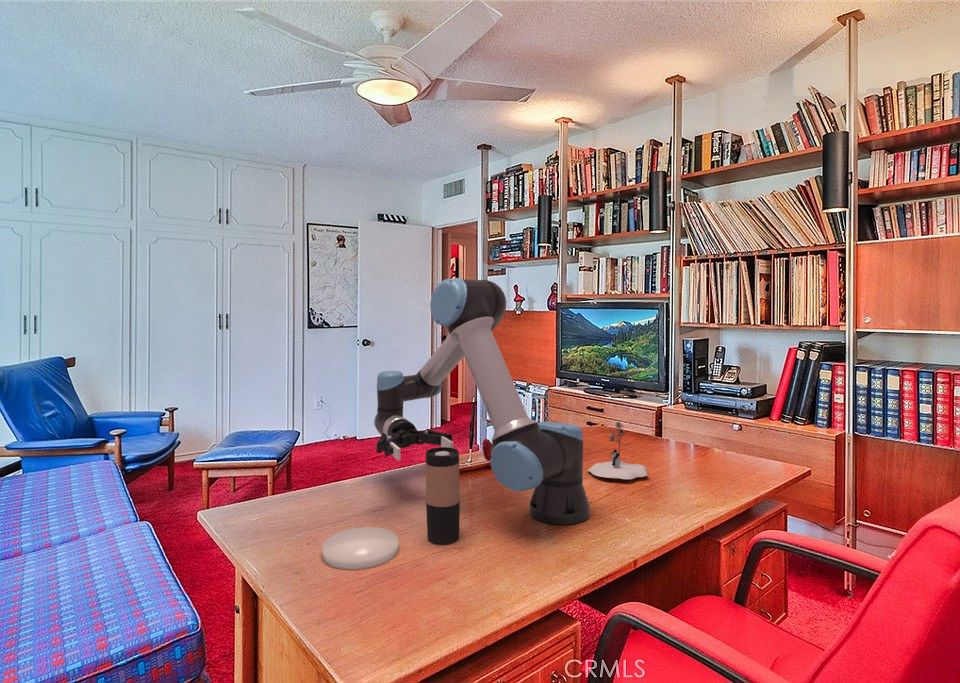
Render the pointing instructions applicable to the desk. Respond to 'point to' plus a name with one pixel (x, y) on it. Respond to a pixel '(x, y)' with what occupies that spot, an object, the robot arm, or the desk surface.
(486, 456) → the decorative bird figurine
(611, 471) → the figurine
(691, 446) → the desk surface
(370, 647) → the desk surface
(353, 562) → the white round disc
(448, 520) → the travel mug
